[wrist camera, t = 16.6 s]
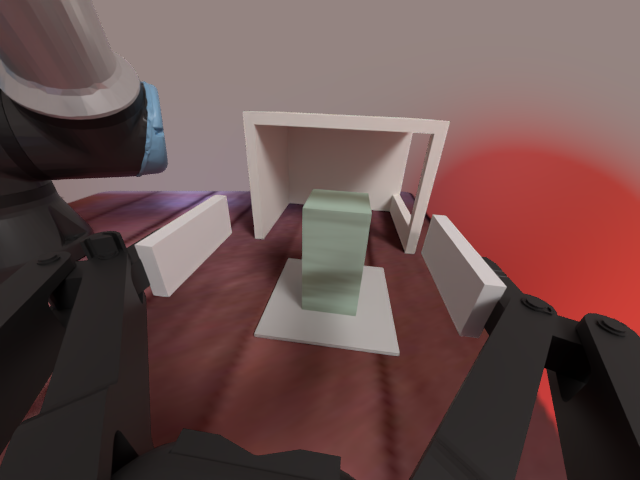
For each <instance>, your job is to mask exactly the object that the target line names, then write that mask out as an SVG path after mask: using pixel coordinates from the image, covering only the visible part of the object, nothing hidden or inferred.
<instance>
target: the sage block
mask: <svg viewBox="0 0 640 480" xmlns="http://www.w3.org/2000/svg"><path fill="white" fill-rule="evenodd" d="M371 215H372V213H371V206H370V200H369V194H368V193H358V192H346V191H333V190H320V189H313V190H312V192H311V194H310V196H309V197H308V199H307V201H306V203H305V204H304V206H303V214H302V309H303V310H310V311H318V312H326V313H334V314H342V315H350V316H356V312H357V306H358V299H359V293H360V286H361V280H362V274H363V267H364V261H365V254H366V248H367V241H368V235H369V228H370V222H371Z"/></svg>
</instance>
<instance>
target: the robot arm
mask: <svg viewBox="0 0 640 480" xmlns="http://www.w3.org/2000/svg"><path fill="white" fill-rule="evenodd" d="M167 165H168V162H167V152H166V144H165V138H164V132H163V124H162V116H161V109H160V102H159V96H158V91H157V89H156V87H155V86H153V85H151V84H147V83H146V82H140V80H139V77H138V75H137V73H136V71H135V69H134V67H133V66H132V65H131V64H130V63H129V62H128V61H127V60H126V59H125V58H123V57H122V56H121V55H119V54H118V53H116V52H114V51H113V50H111V47H110V45H109V42H108V40H107V37H106V35H105V32H104V30H103V27H102V25H101V23H100V20H99V18H98V16H97V13H96V10H95V8H94V6H93V3H92V0H0V455H1V453H2V452H3V450H4V448H5V447H6V445H7V444H8V442H9V441H10V442H9V445H8V448H7V450H6V453H5V456H4V458H3V461H2V464H1V466H0V480H355V479H354V478H353V477H351V476H350V475H349V474H347V473H345V472H344V471H342V470H340V461H341V457H339V456H334V455H328V454H323V453H317V452H312V451H306V450H301V449H300V450H293V451H287V452H280V453H273V454H267V455H259V456H257V455H253V454H251V453H250V452H248V451H246V450H245V449H243V448H241V447H239V446H238V445H236V444H234V443H233V442H231V441H229V440H228V439H226V438H224V437H223V436H221V435H218V434H212V433H207V432H201V431H196V430H190V429H185V428H183V430H182V431H181V433H180V435H179V437H178V439H177V441H176V442H171V443H168V444H164V445H161V446H159V447H156V448H154V446H153V442H152V438H151V425H150V396H149V367H148V339H147V310H146V295H145V293H144V290H145V289H146V288H147V287H148V286H150V287H151V289H152V292H153V295H156V296H164V297H170V296H171V294H172V293H173V292H174V291H175V290H176V289H177V288H178V287H179V286H180V285H181V284H182V283H183V282H184V281H185V280H186V279H187V278H188V277H189V276H190V275H191V274H192V273H193V272H194V271H195V270H196V269H197V268H198V267H199V266H200V265H201V264H202V263H203V262H204V261H205V260H206V259H207V258H208V257H209V256H210V255H211V254H212V253H213V252H214V251H215V250H216V249H217V248H218V247H219V246H220V245H221V244H222V243H223V242H224V241H225V240H226V239H227V238H228V237H229V236H230V235H231V234H232V231H231V224H230V217H229V210H228V204H227V197H226V196H222V195H214V196H213V197H211V198H209V199H208V200H206V201H204V202H203V203H201V204H200V205H198V206H196V207H195V208H193V209H192V210H190V211H188V212H187V213H185V214H183V215H182V216H180V217H179V218H177V219H175V220H174V221H172V222H171V223H169V224H167V225H166V226H164V227H162V228H159V229H157V230H155V231H154V232H152V233H151V234H149V235H147V236H146V237H145V238H142V239H141V240H139V241H138V242H136V243H134V244H133V245H131V246H129V247H128V248H126V246H125V244H124V241H123V239H122V236H121V234H120V233H119V232H116V231H107V232H100V233H96V234H94V232H93V230H92V228H91V227H90V226H89V225H88V224H87V223H86V222H85V221H84V220H83V219H82V218H81V217H80V216H79V215H78V214H77V213H76V212H75V211H74V210H73V209H72V208H71V207H70V206H69V205H68V204H67V203H66V202H65V201H64V200H63V199H62V198H61V197H60V196H59V194H58V193H57V191H56V189H55V187H54V185H53V183H52V181H51V180H61V179H83V178H107V177H129V176H137V177H140V176H142V175H147V174H156V173H161V172H163V171H164V170H165V169H166V168H167ZM421 254H422V256H423V258H424V260H425V262H426V264H427V266H428V269H429V271H430V273H431V275H432V277H433V279H434V281H435V284H436V286H437V288H438V290H439V292H440V294H441V296H442V299H443V301H444V303H445V305H446V307H447V309H448V311H449V314H450V316H451V318H452V320H453V322H454V324H455V327H456V329H457V331H458V333H459V335H460V336H468V337H475V338H479V336H480V335H481V333H482V331H483V329H484V328H485V329H486V331H487V333H488V334H489V337H488V339H487V341H486V343H485V344H484V346H483V348H482V349H481V351H480V353H479V355H478V357H477V359H476V360H475V362H474V364H473V366H472V368H471V369H470V371H469V373H468V375H467V377H466V378H465V380H464V382H463V384H462V385H461V387H460V389H459V391H458V393H457V394H456V396H455V398H454V400H453V402H452V403H451V405H450V407H449V409H448V411H447V412H446V414H445V416H444V418H443V419H442V421H441V423H440V425H439V427H438V428H437V430H436V432H435V434H434V436H433V437H432V439H431V441H430V443H429V445H428V446H427V448H426V450H425V452H424V453H423V455H422V457H421V459H420V461H419V462H418V464H417V466H416V468H415V470H414V471H413V473H412V475H411V477H410V479H409V480H515V476H516V472H517V469H518V465H519V461H520V457H521V453H522V450H523V446H524V442H525V438H526V434H527V430H528V427H529V423H530V419H531V415H532V411H533V408H534V404H535V400H536V396H537V392H538V389H539V385H540V381H541V377H542V373H543V369H544V368H546V369H547V374H548V380H549V385H550V390H551V395H552V401H553V406H554V411H555V416H556V422H557V427H558V432H559V437H560V443H561V448H562V453H563V458H564V464H565V469H566V474H567V479H568V480H640V337H639V336H638V335H637V334H636V333H635V332H634V331H633V330H631V329H630V328H629V327H627V326H626V325H625V324H623V323H621V322H619V321H617V320H615V319H612V318H609V317H607V316H603V315H599V314H594V313H593V314H592V313H588V314H586V315H585V316H584V317H583V318H582V319H581V321H580V322H578V321H575V320H571V319H568V318H565V317H562V316H558V315H557V312H556V311H555V309H554V308H553V307H552V306H551V305H549V304H548V303H546V302H545V301H543V300H541V299H539V298H537V297H534V296H531V295H528V294H523V293H522V292H521V291H520V289H519V288H518V287H517V286H516V285H515V284H514V283H513V282H512V281H511V280H510V279H509V278H508V277H507V275H506V274H505V273H504V272H502V270H501V269H500V268H499V267H498V266H497V265H496V263H494V262H493V261H491V260H489V259H488V258H486V257H481V256H480V255H479V254H478V253H477V252H476V251H475V249H474V248H473V247H472V246H471V245H470V243H469V242H468V241H467V240H466V239H465V238H464V236H463V235H462V234H461V233H460V232H459V231H458V229H457V228H456V227H455V226H454V225H453V224H452V222H451V221H450V220H449V219H448V218H447V217H446V216H442V215H433V216H432V219H431V222H430V226H429V229H428V232H427V236H426V239H425V242H424V245H423V249H422V252H421ZM85 255H86V256H87V258H88V260H87V261H77V260H79V259H80V258H82V257H84V256H85ZM48 302H49V303H50V305H51V306H50V307H49V304H48ZM52 372H53V373H52ZM51 374H52V377H51V380H50V383H49V386H48V389H47V393H46V396H45V399H44V402H43V405H42V409H41V411H40V413H39V415H37V416H34V417H32V418H29V419H27V420H25V421H23V422H22V420H23V418H24V417H25V415H26V414H27V412H28V410H29V409H30V407H31V406H32V404H33V403H34V401H35V399H36V398H37V396H38V395H39V393H40V391H41V390H42V388H43V387H44V385H45V383H46V382H47V380H48V379H49V377H50V376H51ZM21 422H22V423H21ZM20 423H21V424H20ZM10 439H11V440H10Z"/></svg>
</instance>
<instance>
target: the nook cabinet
mask: <svg viewBox="0 0 640 480" xmlns="http://www.w3.org/2000/svg"><path fill="white" fill-rule="evenodd" d="M243 122H244V132H245V142H246V151H247V160H248V171H249V180H250V181H249V182H250V192H251V202H252V212H253V222H254V232H255V239H264V238H265V237H266V235H267V234H268V232H269V231H270V230H271V228H272V227H273V225H274V224H275V223H276V221H277V220H278V218H279V217H280V216H281V214H282V213H283V211H284V210H285V209H286V207H287V206H288V204H289V203H294V204H305V203H306V201H307V199H308V197H309V196H310V194H311V192H312V190H313V189H320V190H333V191H346V192H358V193H368V194H369V200H370V206H371V210H379V211H390V213H391V216H392V219H393V222H394V224H395V227H396V230H397V233H398V235H399V238H400V241H401V243H402V246H403V249H404V252H405V253H409V254H415V250H416V246H417V243H418V239H419V235H420V231H421V228H422V224H423V220H424V217H425V213H426V209H427V205H428V202H429V198H430V194H431V191H432V187H433V183H434V179H435V176H436V172H437V168H438V164H439V161H440V157H441V153H442V150H443V146H444V142H445V138H446V135H447V131H448V127H449V123H450V121H440V120H427V119H416V118H397V117H375V116H355V115H334V114H313V113H312V114H311V113H292V112H251V111H243ZM412 133H430V134H431V136H430V140H429V144H428V148H427V152H426V157H425V161H424V165H423V169H422V173H421V178H420V182H419V186H418V190H417V194H416V198H415V202H414V206H413V211H412V215H410V213H409V211H408V209H407V208H406V206H405V204H404V202H403V200H402V199H401V197H400V191H401V187H402V181H403V177H404V172H405V167H406V162H407V157H408V152H409V148H410V142H411V138H412Z"/></svg>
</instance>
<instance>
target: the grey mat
mask: <svg viewBox="0 0 640 480" xmlns="http://www.w3.org/2000/svg"><path fill="white" fill-rule="evenodd" d="M254 336H255V337H261V338H268V339H276V340H283V341H290V342H298V343H305V344H313V345H320V346H327V347H335V348H342V349H349V350H357V351H364V352H372V353H379V354H386V355H394V356H399V354H400V353H399V348H398V343H397V337H396V332H395V327H394V322H393V317H392V311H391V306H390V301H389V296H388V290H387V285H386V280H385V275H384V269H383V268H379V267H370V266H364V267H363V274H362V280H361V286H360V293H359V299H358V306H357V312H356V316H350V315H342V314H334V313H326V312H318V311H310V310H303V309H302V259H293V258H288V260H287V262H286V264H285V267H284V269H283V271H282V273H281V276H280V278H279V280H278V282H277V284H276V287H275V289H274V291H273V293H272V295H271V298H270V300H269V302H268V304H267V307H266V309H265V311H264V313H263V315H262V318H261V320H260V322H259V324H258V327H257V329H256V331H255V333H254Z"/></svg>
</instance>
